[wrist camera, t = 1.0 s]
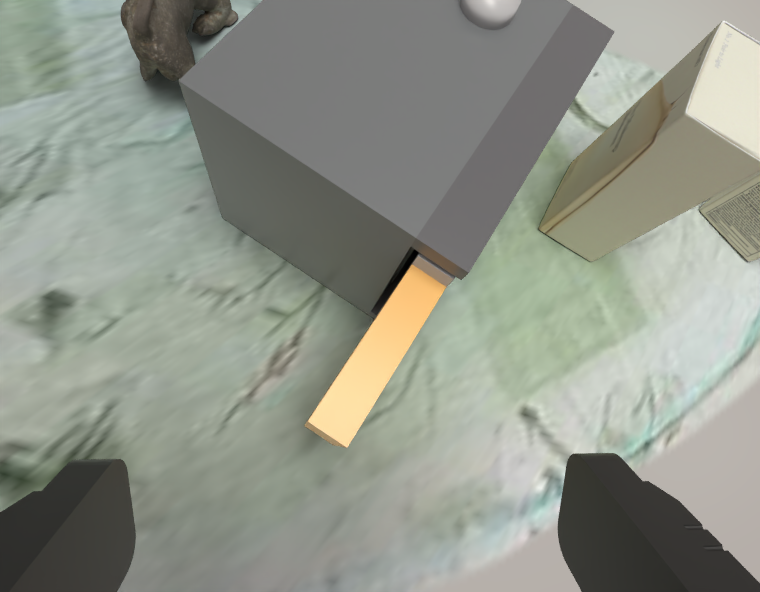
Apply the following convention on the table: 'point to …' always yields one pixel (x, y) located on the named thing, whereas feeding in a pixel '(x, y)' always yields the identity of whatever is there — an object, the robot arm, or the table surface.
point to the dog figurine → (170, 32)
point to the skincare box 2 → (738, 216)
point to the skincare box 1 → (665, 149)
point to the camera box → (383, 127)
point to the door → (379, 352)
